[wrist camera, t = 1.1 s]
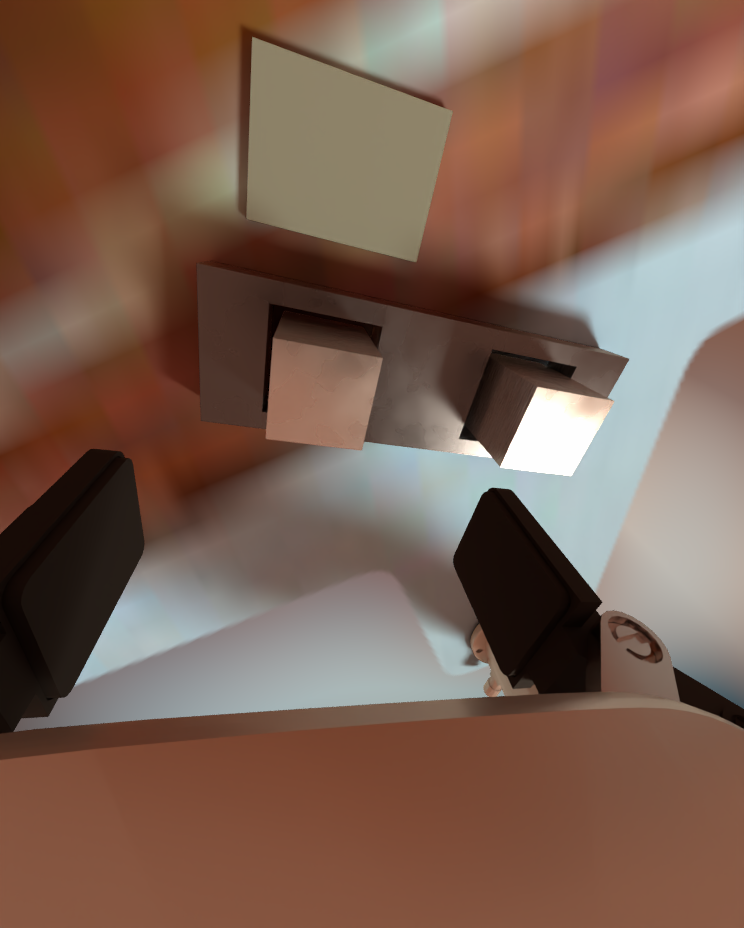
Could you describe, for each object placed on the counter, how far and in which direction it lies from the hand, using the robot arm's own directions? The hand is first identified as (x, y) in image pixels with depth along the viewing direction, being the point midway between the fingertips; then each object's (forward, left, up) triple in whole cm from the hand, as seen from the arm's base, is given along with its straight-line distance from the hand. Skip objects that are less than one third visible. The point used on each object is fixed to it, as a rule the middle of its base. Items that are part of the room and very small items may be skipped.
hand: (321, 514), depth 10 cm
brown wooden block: (0, -14, -17) cm, 23 cm away
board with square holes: (0, -7, -17) cm, 19 cm away
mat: (+10, 0, -17) cm, 20 cm away
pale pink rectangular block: (0, 0, -17) cm, 17 cm away
